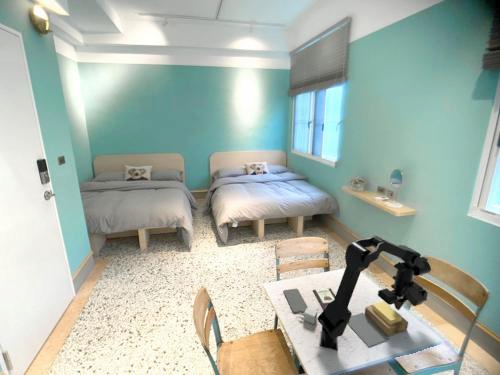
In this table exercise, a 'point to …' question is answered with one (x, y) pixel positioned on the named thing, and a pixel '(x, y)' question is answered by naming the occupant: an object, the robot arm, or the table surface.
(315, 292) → the chocolate bar
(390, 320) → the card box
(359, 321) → the mat
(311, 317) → the usb wall charger
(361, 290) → the table surface
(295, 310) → the smartphone
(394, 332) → the block
